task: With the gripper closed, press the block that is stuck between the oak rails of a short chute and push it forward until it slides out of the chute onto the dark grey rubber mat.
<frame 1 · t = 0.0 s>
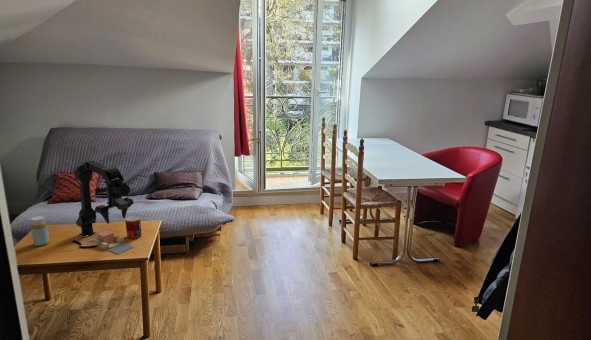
hand: (116, 220, 215), 15 cm above the table, fingers open, 9 cm apart
block: (105, 237, 221), point 3 cm above the table, slide at 0.0 cm
mat: (121, 248, 216), on the table
bottle: (41, 244, 220), on the table
canned food: (134, 236, 231), on the table
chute: (108, 243, 221), on the table
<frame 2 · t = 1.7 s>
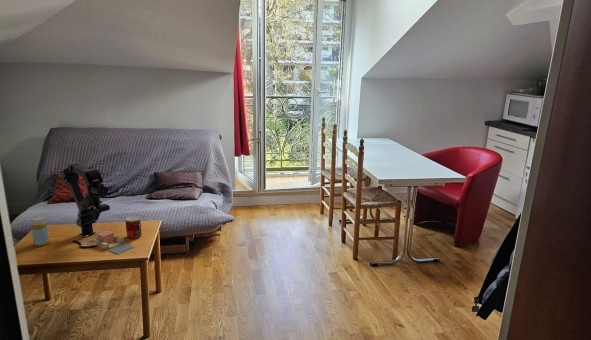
hand: (96, 220, 223), 12 cm above the table, fingers closed
nothing on the table moved.
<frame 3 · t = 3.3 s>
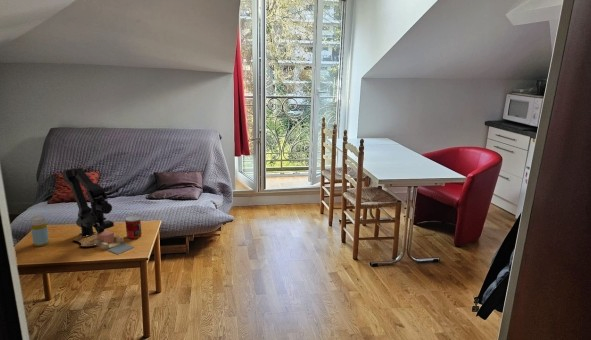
hand: (100, 236, 224), 3 cm above the table, fingers closed
block: (105, 237, 221), point 3 cm above the table, slide at 0.0 cm, touching gripper
everything else where it was.
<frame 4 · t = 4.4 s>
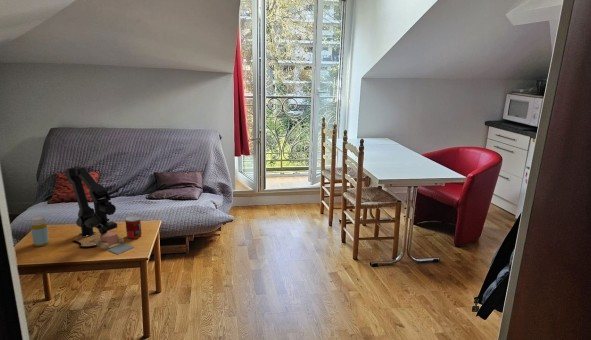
hand: (103, 237, 223), 3 cm above the table, fingers closed
block: (109, 238, 220), point 3 cm above the table, slide at 2.8 cm, touching gripper
everything else where it was.
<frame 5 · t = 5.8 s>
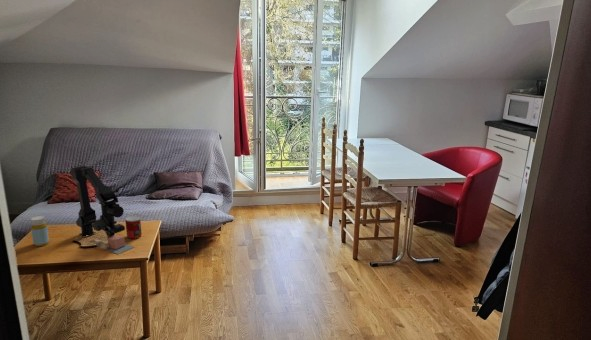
hand: (110, 240, 219), 3 cm above the table, fingers closed
block: (116, 241, 217), point 3 cm above the table, slide at 9.1 cm, touching gripper
everything else where it was.
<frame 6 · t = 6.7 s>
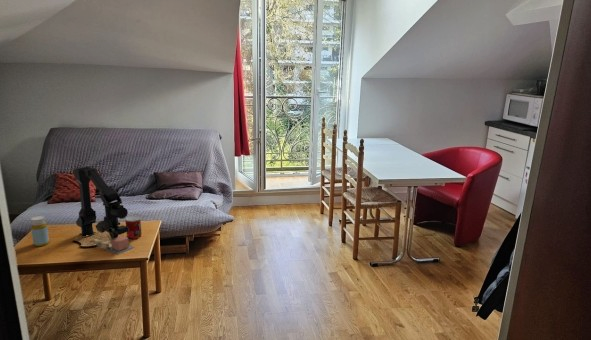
hand: (114, 241, 218), 3 cm above the table, fingers closed
block: (120, 243, 215), point 3 cm above the table, slide at 12.3 cm, touching gripper
everything else where it was.
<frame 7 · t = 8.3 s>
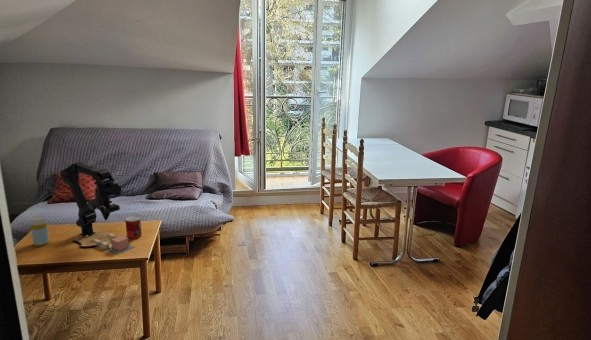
hand: (105, 219, 224), 12 cm above the table, fingers closed
block: (120, 243, 215), point 3 cm above the table, slide at 12.3 cm
everything else where it was.
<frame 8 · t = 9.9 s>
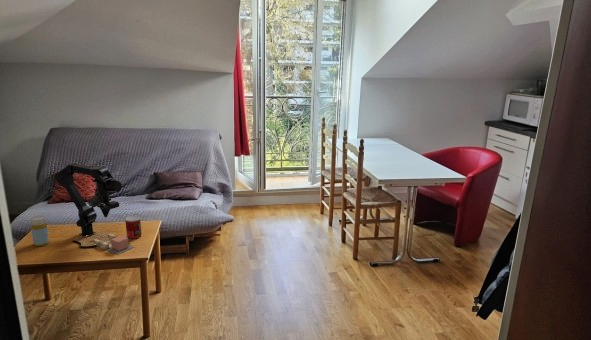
hand: (105, 217, 226), 12 cm above the table, fingers closed
nothing on the table moved.
at the end: block slide at 12.3 cm; block touching nothing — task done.
